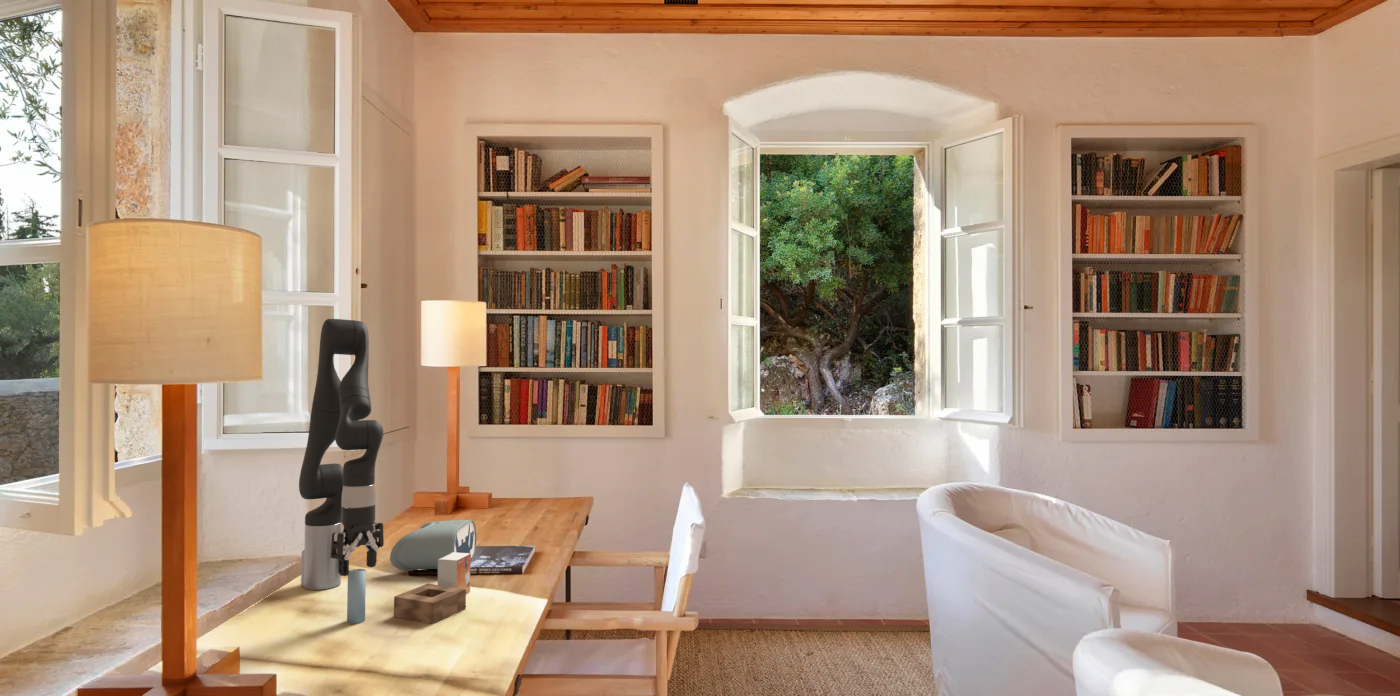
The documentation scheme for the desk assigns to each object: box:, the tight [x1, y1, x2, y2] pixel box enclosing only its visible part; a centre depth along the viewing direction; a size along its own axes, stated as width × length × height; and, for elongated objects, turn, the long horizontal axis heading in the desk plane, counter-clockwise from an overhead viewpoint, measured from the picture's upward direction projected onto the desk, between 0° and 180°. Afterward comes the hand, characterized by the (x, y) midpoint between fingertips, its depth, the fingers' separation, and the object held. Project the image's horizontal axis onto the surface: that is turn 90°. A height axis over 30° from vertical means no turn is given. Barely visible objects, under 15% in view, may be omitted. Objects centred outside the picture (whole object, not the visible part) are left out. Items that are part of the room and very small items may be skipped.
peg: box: [346, 568, 367, 625], centre depth 192 cm, size 4×4×12 cm
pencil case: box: [389, 519, 477, 572], centre depth 242 cm, size 22×19×13 cm
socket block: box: [393, 583, 467, 625], centre depth 199 cm, size 12×12×5 cm
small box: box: [436, 552, 472, 595], centre depth 213 cm, size 8×6×10 cm
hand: (357, 571), depth 192 cm, fingers open, 8 cm apart
